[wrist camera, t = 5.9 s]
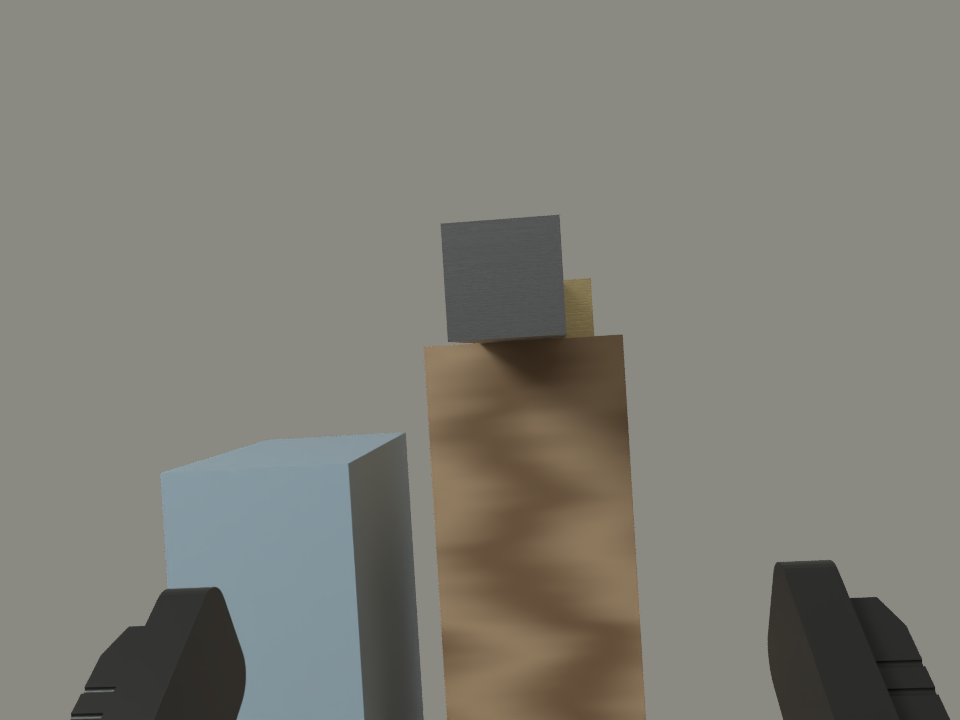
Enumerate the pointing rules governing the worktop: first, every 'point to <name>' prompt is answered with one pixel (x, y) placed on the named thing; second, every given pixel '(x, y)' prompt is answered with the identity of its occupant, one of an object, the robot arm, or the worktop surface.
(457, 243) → the grey and tan bar
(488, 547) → the brown wooden tall block
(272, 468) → the light blue tall block
